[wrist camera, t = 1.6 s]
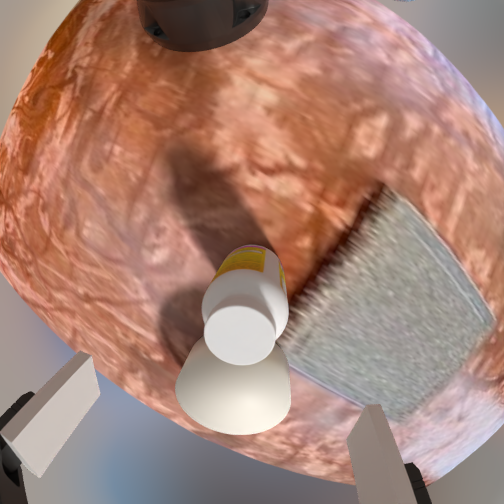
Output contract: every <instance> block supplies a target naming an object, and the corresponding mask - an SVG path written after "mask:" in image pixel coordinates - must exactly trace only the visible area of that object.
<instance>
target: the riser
mask: <svg viewBox="0 0 504 504" xmlns="http://www.w3.org/2000/svg"><path fill="white" fill-rule="evenodd" d="M175 392H176V397H177V400H178V402H179V404H180V406H181V407H182V409H183V410H184V411H185V412H186V413H187V414H188V415H189V416H190V417H191V418H192V419H193V420H195V421H196V422H198V423H199V424H201V425H203V426H205V427H207V428H209V429H212V430H215V431H218V432H222V433H226V434H234V435H247V434H255V433H259V432H263V431H266V430H268V429H270V428H272V427H274V426H276V425H277V424H278V423H280V422H281V421H282V420H283V419H284V417H285V416H286V415H287V413H288V411H289V408H290V404H291V393H290V376H289V364H288V360H287V358H286V356H285V354H284V352H283V351H282V349H281V348H280V347H279V346H278V345H277V344H276V343H275V345H274V347H273V349H272V351H271V352H270V354H269V355H268V356H267V357H266V358H264V359H263V360H261V361H259V362H257V363H254V364H250V365H234V364H230V363H227V362H225V361H223V360H221V359H219V358H218V357H216V356H215V355H214V354H213V353H212V352H211V351H210V349H209V348H208V346H207V344H206V342H205V338H204V336H203V337H201V338H200V339H199V340H198V341H197V342H196V343H195V344H194V346H193V347H192V349H191V351H190V353H189V355H188V357H187V359H186V361H185V363H184V365H183V368H182V370H181V372H180V374H179V376H178V378H177V381H176V385H175Z"/></svg>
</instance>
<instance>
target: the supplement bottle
mask: <svg viewBox="0 0 504 504" xmlns="http://www.w3.org/2000/svg"><path fill="white" fill-rule="evenodd" d="M202 317H203V321H204V323H205V327H204V338H205V342H206V344H207V346H208V348H209V349H210V351H211V352H212V353H213V354H214V355H215V356H216V357H218V358H219V359H221V360H223V361H225V362H227V363H230V364H234V365H250V364H254V363H257V362H259V361H261V360H263V359H264V358H266V357H267V356H268V355H269V354H270V352H271V351H272V349H273V347H274V345H275V340H276V339H277V338H278V337H279V336H280V335H281V333H282V332H283V330H284V328H285V326H286V324H287V320H288V301H287V293H286V284H285V276H284V270H283V267H282V264H281V262H280V260H279V258H278V257H277V256H276V255H275V254H274V253H273V252H272V251H271V250H269V249H267V248H265V247H263V246H259V245H245V246H241V247H239V248H237V249H235V250H233V251H232V252H231V253H230V254H229V255H228V256H227V257H226V258H225V260H224V261H223V263H222V265H221V266H220V268H219V270H218V271H217V273H216V275H215V277H214V278H213V280H212V282H211V283H210V285H209V287H208V288H207V290H206V292H205V295H204V297H203V301H202Z"/></svg>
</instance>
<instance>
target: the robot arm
mask: <svg viewBox="0 0 504 504" xmlns="http://www.w3.org/2000/svg"><path fill="white" fill-rule="evenodd" d="M395 1H404V2H407V1H413V0H395ZM137 5H138V10H139V15H140V20H141V24H142V26H143V28H144V30H145V31H146V33H147V34H148V35H149V36H150V37H151V38H152V39H153V40H154V41H155V42H156V43H157V44H159V45H161V46H162V47H165V48H167V49H170V50H174V51H182V52H196V51H204V50H209V49H214V48H217V47H221V46H224V45H226V44H229V43H231V42H233V41H235V40H237V39H239V38H241V37H243V36H244V35H246V34H247V33H249V32H250V31H251V30H252V29H254V28H255V27H256V26H257V25H258V24H259V23H260V21H261V20H262V19H263V17H264V15H265V13H266V11H267V7H268V0H137ZM99 396H100V390H99V386H98V382H97V378H96V374H95V369H94V364H93V360H92V355H89V354H87V353H84V352H82V351H79V352H78V353H77V354H76V355H75V356H74V357H73V358H72V359H71V360H70V361H69V362H68V363H66V365H65V366H63V367H62V368H61V369H60V370H59V371H58V372H57V373H56V374H55V375H54V376H53V377H52V378H51V379H50V380H49V381H48V382H47V383H46V384H45V385H44V386H43V387H42V388H41V389H40V390H39V391H38V392H37V393H36V394H34V393H33V392H28V393H26V394H24V395H22V396H21V397H20V398H19V399H18V400H17V401H16V403H14V404H13V405H12V406H11V408H9V409H8V410H7V411H6V412H5V413H4V414H3V415H2V416H1V417H0V504H28V501H27V497H26V492H25V487H24V481H23V475H22V469H21V467H20V464H21V463H23V464H24V466H25V467H26V468H27V469H28V470H29V471H31V472H32V473H33V474H35V475H36V476H38V477H39V478H40V477H41V476H42V474H43V473H44V471H45V470H46V469H47V467H48V466H49V464H50V463H51V461H52V460H53V459H54V457H55V456H56V454H57V453H58V451H59V450H60V449H61V447H62V446H63V444H64V443H65V442H66V440H67V439H68V438H69V436H70V435H71V433H72V432H73V431H74V429H75V428H76V427H77V425H78V424H79V422H80V421H81V420H82V418H83V417H84V416H85V414H86V413H87V412H88V410H89V409H90V408H91V406H92V405H93V404H94V402H95V401H96V400H97V398H98V397H99ZM346 440H347V445H348V449H349V454H350V458H351V463H352V467H353V472H354V477H355V482H356V487H357V492H358V497H359V502H360V504H432V503H431V500H430V497H429V494H428V492H427V489H426V488H425V483H424V481H423V480H422V479H423V478H422V475H421V473H420V470H419V469H418V468H417V467H416V466H415V465H414V464H413V462H412V463H407V464H404V463H403V461H402V458H401V455H400V452H399V450H398V447H397V445H396V442H395V439H394V437H393V434H392V432H391V429H390V427H389V424H388V422H387V419H386V417H385V414H384V412H383V409H382V407H381V405H380V404H376V405H366V407H365V408H364V410H363V412H362V414H361V416H360V417H359V419H358V421H357V423H356V424H355V426H354V428H353V429H352V431H351V433H350V434H349V436H348V437H347V439H346Z"/></svg>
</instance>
